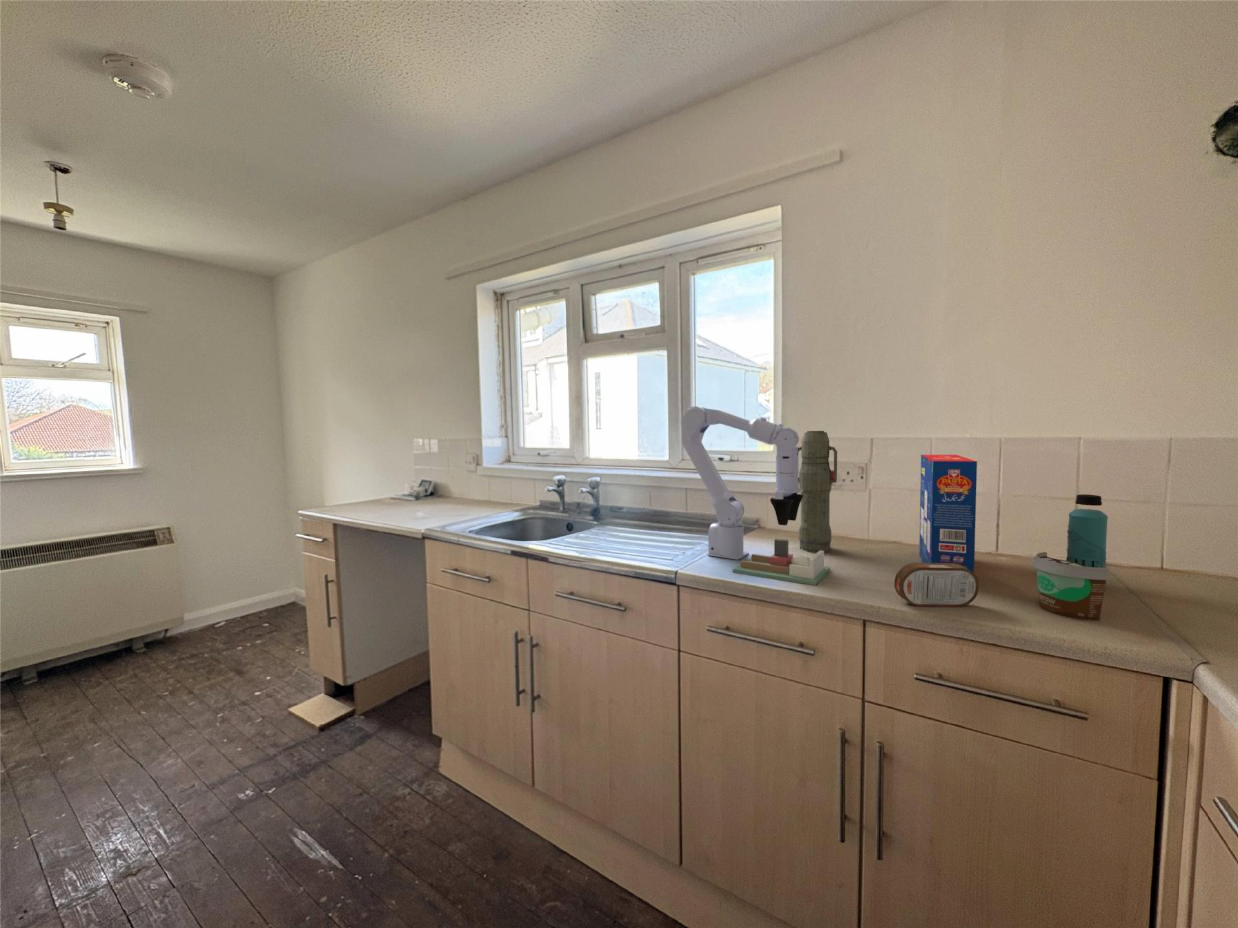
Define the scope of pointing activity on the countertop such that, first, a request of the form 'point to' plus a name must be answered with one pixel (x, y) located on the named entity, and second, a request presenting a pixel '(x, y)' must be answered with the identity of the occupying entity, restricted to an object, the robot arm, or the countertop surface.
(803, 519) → the thermos
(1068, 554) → the beverage bottle
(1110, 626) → the countertop surface
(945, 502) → the pasta box
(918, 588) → the tin
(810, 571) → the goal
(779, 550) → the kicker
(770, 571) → the pitch
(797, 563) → the ball
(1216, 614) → the countertop surface
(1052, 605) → the food container
